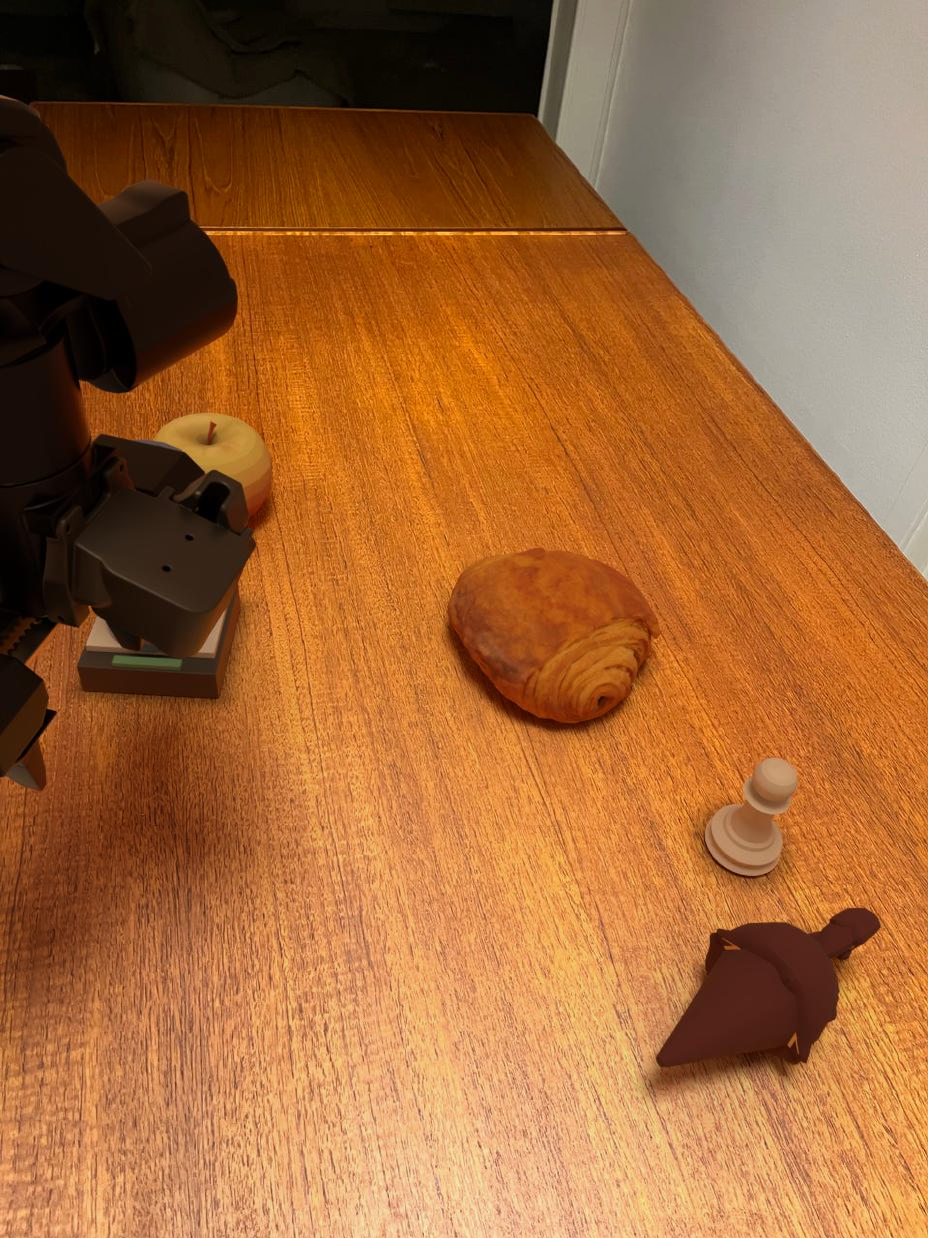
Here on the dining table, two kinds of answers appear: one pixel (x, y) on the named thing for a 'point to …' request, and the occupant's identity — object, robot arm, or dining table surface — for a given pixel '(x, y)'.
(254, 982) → the dining table surface
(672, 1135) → the dining table surface
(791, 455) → the dining table surface
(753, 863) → the chess piece
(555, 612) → the croissant
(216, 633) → the scale
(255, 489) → the apple
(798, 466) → the dining table surface
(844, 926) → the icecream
